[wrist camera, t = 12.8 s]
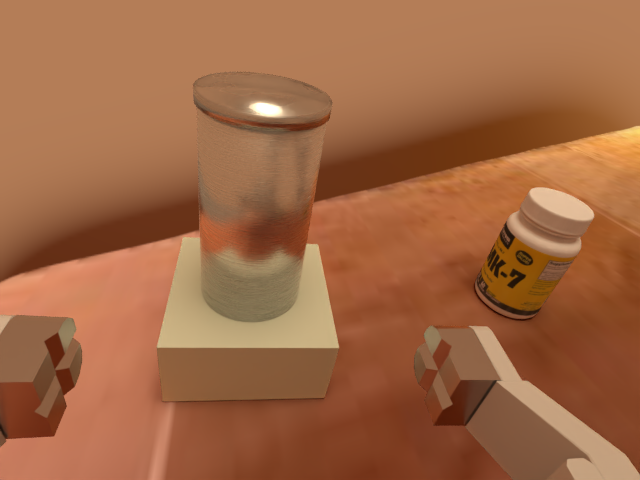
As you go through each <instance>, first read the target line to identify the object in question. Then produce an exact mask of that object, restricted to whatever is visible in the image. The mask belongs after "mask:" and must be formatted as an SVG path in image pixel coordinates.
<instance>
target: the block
mask: <svg viewBox="0 0 640 480" xmlns="http://www.w3.org/2000/svg"><path fill="white" fill-rule="evenodd" d="M338 350H339V345H338V340H337V335H336V330H335V326H334V321H333V316H332V311H331V306H330V301H329V296H328V291H327V286H326V282H325V277H324V272H323V267H322V262H321V257H320V252H319V247H318V244H306V250H305V256H304V262H303V268H302V274H301V280H300V286H299V292H298V297H297V300H296V301H295V303H294V305H293V306H292V307H291V308H290V309H289V310H288V311H287V312H285V313H284V314H282V315H280V316H278V317H276V318H273V319H271V320H267V321H261V322H241V321H236V320H232V319H229V318H226V317H223V316H222V315H220V314H218V313H216V312H215V311H213V310H212V309H211V308H210V307H209V306H208V305H207V303H206V302H205V300H204V298H203V296H202V291H201V262H200V238H191V237H183V240H182V245H181V249H180V253H179V257H178V261H177V265H176V269H175V274H174V278H173V282H172V286H171V290H170V294H169V299H168V303H167V307H166V311H165V315H164V319H163V324H162V328H161V332H160V336H159V340H158V344H157V355H158V364H159V374H160V383H161V392H162V402H170V401H214V400H259V399H303V398H325V395H326V392H327V388H328V385H329V381H330V378H331V374H332V371H333V367H334V364H335V361H336V357H337V354H338Z"/></svg>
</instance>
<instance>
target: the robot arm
mask: <svg viewBox="0 0 640 480" xmlns="http://www.w3.org/2000/svg"><path fill="white" fill-rule="evenodd" d="M75 331H76V326H75V323H74V320H73V318H68V317H46V316H25V315H0V447H1V446H2V445H3V444H4V443H5V442H6V439H16V438H34V437H53V436H54V435H55V433H56V430H57V428H58V426H59V423H60V421H61V419H62V416H63V414H64V411H65V409H66V407H67V405H66V402H65V399H64V395H65V394H66V393H67V392H69V391H70V390H71V389H72V388H74V387H75V385H76V382H77V379H78V377H79V374H80V369H81V364H82V349H81V345H80V343H79V342H78V341H76V340H75V339H74V338H73V336H74V333H75ZM424 338H425V340H426V342H425V343H424V344H422V345H421V346H419V347H418V349H417V351H416V354H415V356H414V370H415V376H416V379H417V382H418V384H419V385H420V386H421V387H422V388H423V389H424V390H425V391H426V392H427V394H426V397H425V400H424V401H425V404H426V407H427V409H428V412H429V415H430V417H431V420H432V423H433V426H466V427H465V428H466V429H467V430H468V431H469V432H470V433H471V434H472V435H473V436H474V438H475V439H476V440H477V441H478V442H479V443H480V444H481V445H482V446H483V447H484V449H485V450H486V451H487V452H488V453H489V454H490V455H491V456H492V457H493V458H494V459H495V461H496V462H497V463H498V464H499V465H500V466H501V467H502V468H503V469H504V470H505V472H506V473H507V474H508V475H509V476H510V477H511V478H512V479H513V480H640V474H639V473H638V472H637V470H636V469H635V467H634V466H633V465H632V463H631V462H630V460H629V459H628V458H627V456H626V455H625V454H624V453H623V452H621V451H620V450H619V449H617V448H616V447H615V446H613V445H612V444H611V443H609V442H608V441H607V440H605V439H604V438H603V437H601V436H600V435H599V434H597V433H596V432H595V431H593V430H592V429H591V428H589V427H588V426H587V425H585V424H584V423H583V422H581V421H580V420H579V419H577V418H576V417H575V416H573V415H572V414H571V413H570V412H568V411H567V410H566V409H564V408H563V407H562V406H560V405H559V404H558V403H556V402H555V401H554V400H552V399H551V398H550V397H548V396H547V395H546V394H544V393H543V392H542V391H540V390H539V389H538V388H536V387H535V386H534V385H532V384H531V383H530V382H528V381H522V380H521V378H520V376H519V375H518V373H517V371H516V370H515V368H514V367H513V365H512V363H511V362H510V360H509V358H508V357H507V355H506V353H505V352H504V350H503V348H502V347H501V345H500V343H499V342H498V340H497V338H496V337H495V335H494V333H493V332H492V330H491V329H489V328H488V327H487V326H432V325H431V326H430V327H429V328H427V330H426V332H425V334H424Z"/></svg>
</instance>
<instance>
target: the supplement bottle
mask: <svg viewBox="0 0 640 480" xmlns="http://www.w3.org/2000/svg"><path fill="white" fill-rule="evenodd" d="M593 218H594V213H593V211H592V210H591V209H590V208H589V207H588V206H587V205H586V204H585V203H583V202H582V201H580V200H578V199H577V198H575V197H573V196H571V195H568V194H566V193H563V192H560V191H557V190H554V189H549V188H533V189H531V190H530V191H529V193H528V194H527V196H526V197H525V199H524V201H523V202H522V204H521V207H520V211H517V212H515V213H513V214H512V215H510V216H509V218H508V219H507V221H506V223H505V225H504V227H503V229H502V231H501V232H500V234H499V236H498V238H497V240H496V242H495V244H494V246H493V248H492V250H491V252H490V254H489V255H488V257H487V259H486V261H485V263H484V265H483V267H482V269H481V271H480V273H479V274H478V277H477V279H476V282H475V289H476V292H477V294H478V296H479V297H480V298H481V299H482V301H483V302H484V303H485V304H487V305H488V306H489V307H490V308H491V309H493V310H494V311H496V312H498V313H500V314H502V315H504V316H507V317H510V318H515V319H527V318H531V317H533V316H535V315H536V314H537V313H538V311H539V310H540V309H541V307H542V305H543V304H544V303H545V301H546V300H547V299H548V297H549V295H550V294H551V293H552V291H553V290H554V288H555V287H556V285H557V284H558V282H559V281H560V279H561V278H562V277H563V275H564V274H565V272H566V271H567V269H568V268H569V266H570V265H571V263H572V262H573V261H574V259H575V258H576V256H577V255H578V253H579V251H580V249H581V240H580V237H581V236H582V235H583V234H584V233H585V232H586V230H587V228H588V226H589V225H590V223H591V221H592V220H593Z"/></svg>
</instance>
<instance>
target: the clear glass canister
mask: <svg viewBox="0 0 640 480" xmlns="http://www.w3.org/2000/svg"><path fill="white" fill-rule="evenodd" d="M193 97H194V104H195V105H196V107H197V143H198V177H199V178H198V179H199V180H198V183H199V218H200V219H199V222H200V262H201V291H202V296H203V298H204V300H205V302H206V303H207V305H208V306H209V307H210V308H211V309H212V310H213V311H215V312H216V313H218V314H220V315H222V316H223V317H226V318H229V319H232V320H236V321H241V322H261V321H267V320H271V319H273V318H276V317H278V316H280V315H282V314H284V313H285V312H287V311H288V310H289V309H290V308H291V307H292V306H293V305H294V303H295V301H296V300H297V297H298V292H299V286H300V280H301V274H302V268H303V262H304V256H305V250H306V244H307V238H308V231H309V225H310V219H311V213H312V207H313V201H314V195H315V188H316V183H317V176H318V171H319V164H320V159H321V152H322V146H323V140H324V134H325V128H326V122H327V121H328V120H329V118H330V114H331V107H332V100H331V98H330V97H329V96H328V95H327V94H326V93H325V92H323V91H322V90H320V89H318V88H316V87H314V86H312V85H309V84H307V83H303V82H301V81H297V80H294V79H290V78H286V77H281V76H276V75H269V74H261V73H251V72H224V73H215V74H210V75H207V76H203V77H201V78H199V79H198V80H196V81H195V83H194V85H193Z"/></svg>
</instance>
